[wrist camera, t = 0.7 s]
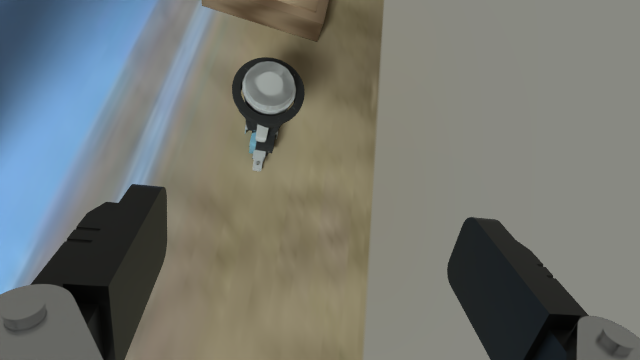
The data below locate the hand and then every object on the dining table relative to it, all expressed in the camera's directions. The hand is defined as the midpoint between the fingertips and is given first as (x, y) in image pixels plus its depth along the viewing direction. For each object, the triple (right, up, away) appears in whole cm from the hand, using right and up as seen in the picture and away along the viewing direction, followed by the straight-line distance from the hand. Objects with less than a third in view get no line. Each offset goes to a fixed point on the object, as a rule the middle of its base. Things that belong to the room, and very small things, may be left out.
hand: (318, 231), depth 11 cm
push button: (-6, +5, +28) cm, 29 cm away
